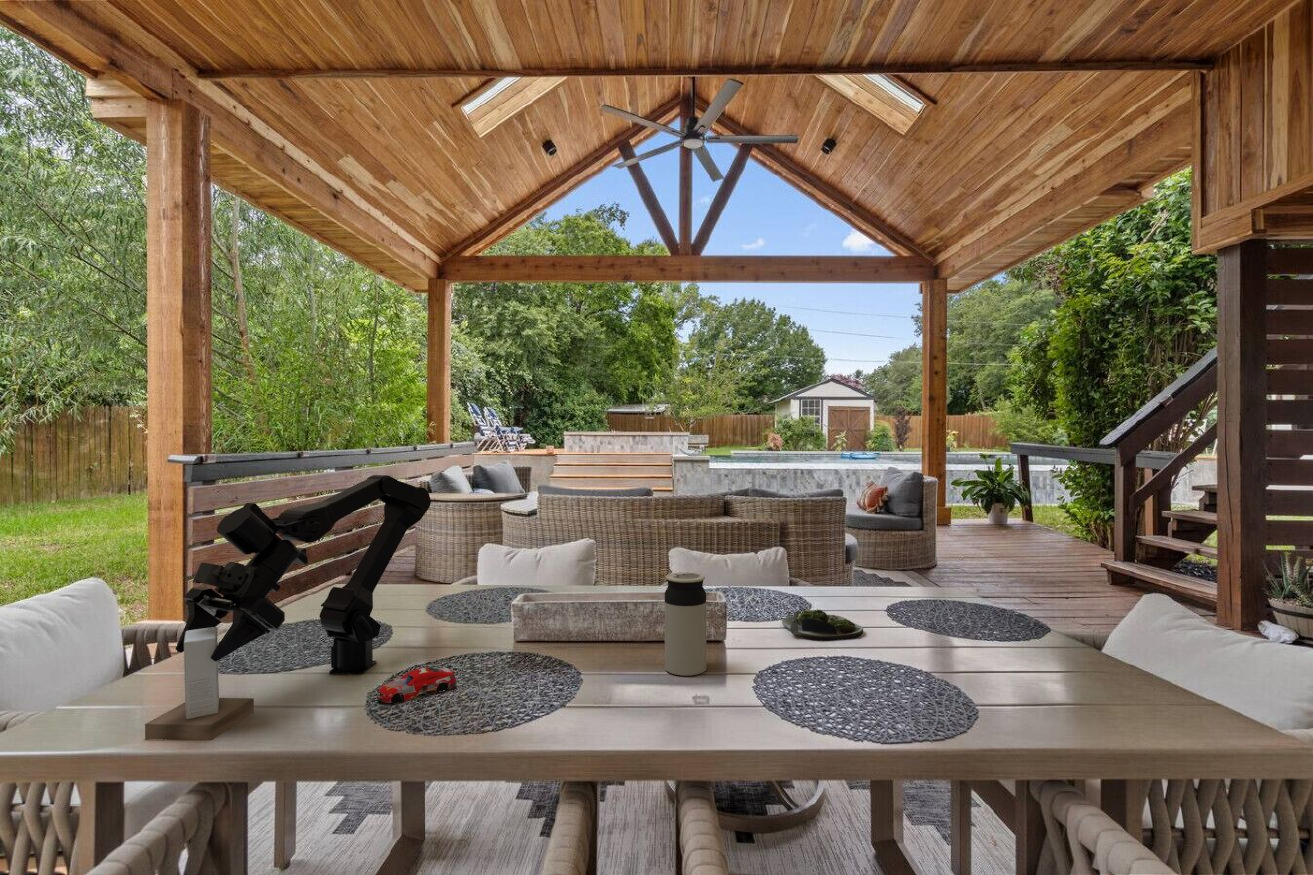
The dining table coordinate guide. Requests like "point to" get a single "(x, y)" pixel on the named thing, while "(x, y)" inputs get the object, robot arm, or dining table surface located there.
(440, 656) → the dining table surface
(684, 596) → the travel mug
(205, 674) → the skincare box
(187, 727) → the walnut block
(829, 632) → the salad plate
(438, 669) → the race car
